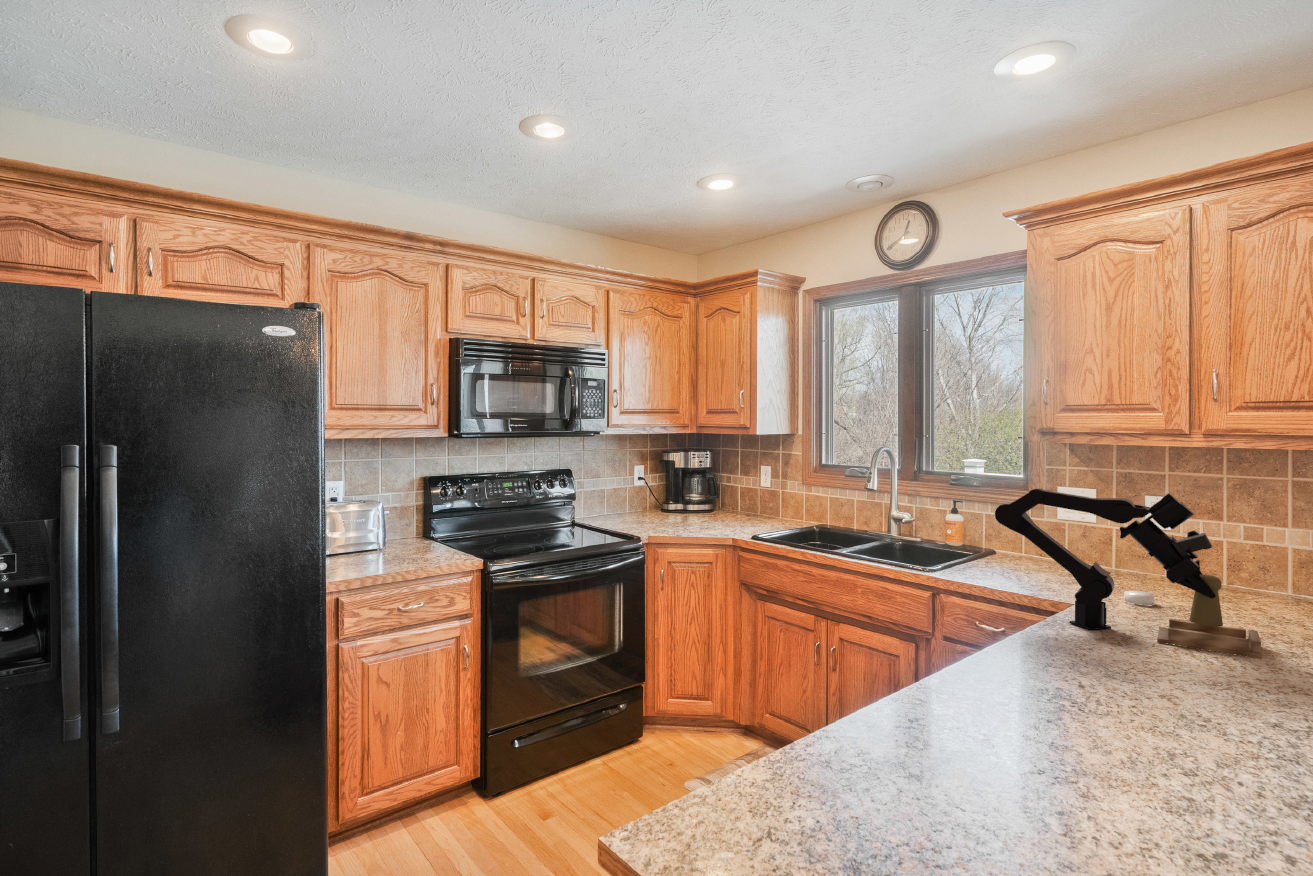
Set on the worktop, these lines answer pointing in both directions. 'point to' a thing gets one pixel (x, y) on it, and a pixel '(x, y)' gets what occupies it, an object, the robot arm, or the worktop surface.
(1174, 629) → the rack
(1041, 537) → the robot arm
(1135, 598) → the white rounded cylinder
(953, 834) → the worktop surface
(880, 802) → the worktop surface
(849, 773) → the worktop surface
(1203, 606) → the cork
